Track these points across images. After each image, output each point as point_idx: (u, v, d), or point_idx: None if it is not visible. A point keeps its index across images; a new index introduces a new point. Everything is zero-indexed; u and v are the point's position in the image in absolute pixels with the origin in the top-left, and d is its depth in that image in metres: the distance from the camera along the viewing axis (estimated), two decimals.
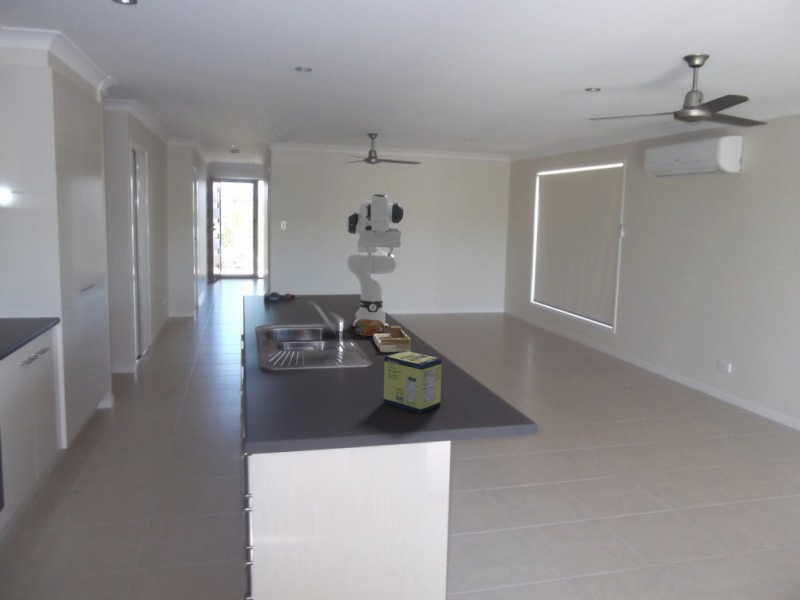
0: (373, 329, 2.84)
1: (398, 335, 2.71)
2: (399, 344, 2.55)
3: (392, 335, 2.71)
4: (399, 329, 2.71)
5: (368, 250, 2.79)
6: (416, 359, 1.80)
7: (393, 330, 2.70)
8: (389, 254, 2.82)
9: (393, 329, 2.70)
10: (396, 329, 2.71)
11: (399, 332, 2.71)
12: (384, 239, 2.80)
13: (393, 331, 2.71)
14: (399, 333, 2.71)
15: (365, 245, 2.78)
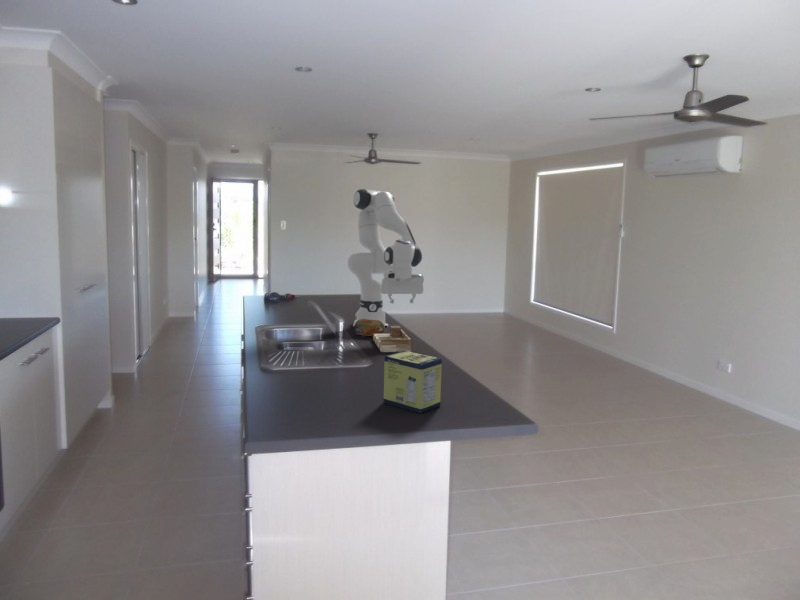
0: (373, 329, 2.84)
1: (398, 335, 2.71)
2: (399, 344, 2.55)
3: (392, 335, 2.71)
4: (399, 329, 2.71)
5: (390, 297, 2.76)
6: (416, 359, 1.80)
7: (393, 330, 2.70)
8: (411, 301, 2.79)
9: (393, 329, 2.70)
10: (396, 329, 2.71)
11: (399, 332, 2.71)
12: (407, 286, 2.77)
13: (393, 331, 2.71)
14: (399, 333, 2.71)
15: (388, 292, 2.75)
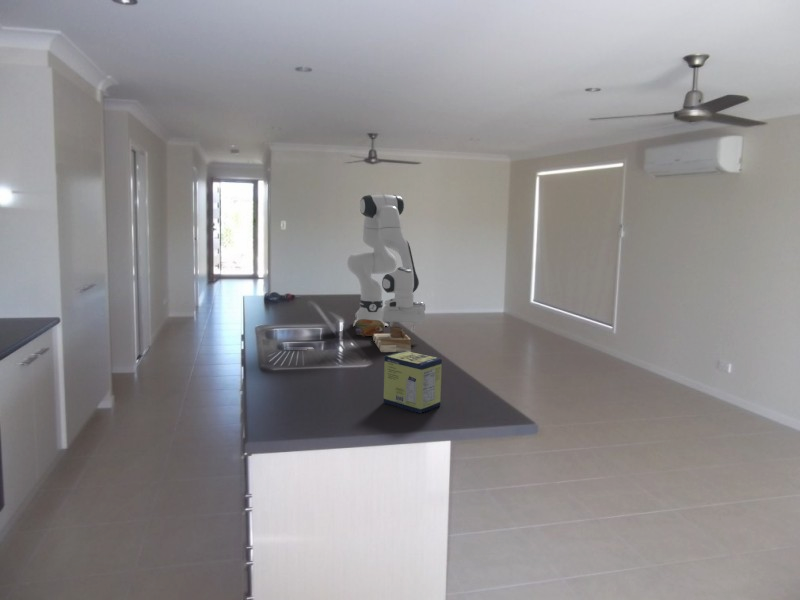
0: (373, 329, 2.84)
1: (399, 335, 2.70)
2: (399, 344, 2.55)
3: (393, 335, 2.70)
4: (400, 329, 2.70)
5: None
6: (416, 359, 1.80)
7: (394, 330, 2.70)
8: (413, 329, 2.76)
9: (394, 329, 2.69)
10: (397, 329, 2.70)
11: (400, 332, 2.70)
12: (408, 314, 2.73)
13: (394, 331, 2.70)
14: (400, 333, 2.70)
15: (389, 321, 2.72)
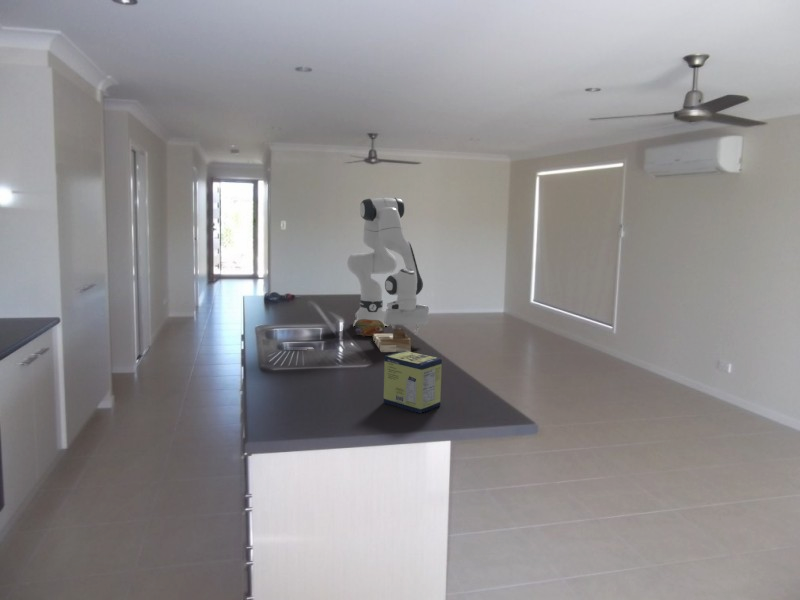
0: (373, 329, 2.84)
1: (402, 338, 2.64)
2: (399, 344, 2.55)
3: (396, 338, 2.64)
4: (403, 332, 2.64)
5: (394, 328, 2.67)
6: (416, 359, 1.80)
7: (397, 333, 2.63)
8: (416, 332, 2.69)
9: (397, 332, 2.63)
10: (400, 332, 2.64)
11: (403, 335, 2.64)
12: (411, 317, 2.67)
13: (397, 334, 2.63)
14: (403, 336, 2.64)
15: (391, 324, 2.66)
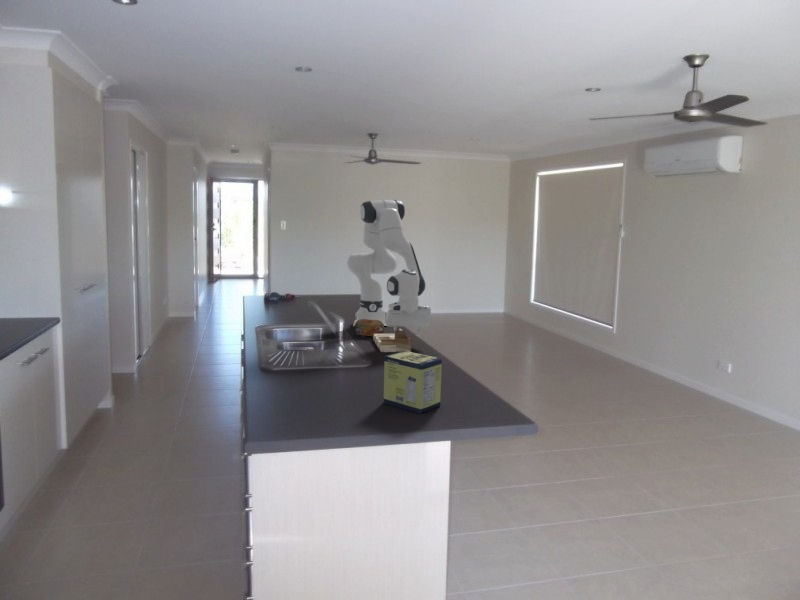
0: (373, 329, 2.84)
1: None
2: (399, 344, 2.55)
3: None
4: (405, 334, 2.60)
5: None
6: (416, 359, 1.80)
7: (398, 335, 2.59)
8: (418, 333, 2.66)
9: (398, 334, 2.59)
10: (402, 334, 2.60)
11: (405, 337, 2.60)
12: (413, 318, 2.63)
13: (398, 336, 2.59)
14: (405, 338, 2.60)
15: (393, 325, 2.62)
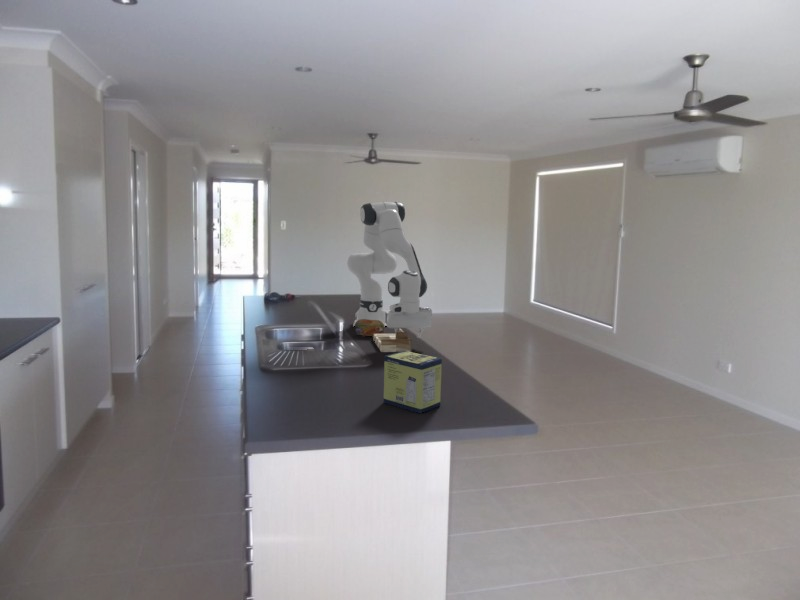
0: (373, 329, 2.84)
1: None
2: (399, 344, 2.55)
3: None
4: (406, 335, 2.58)
5: None
6: (416, 359, 1.80)
7: (399, 336, 2.57)
8: (419, 335, 2.63)
9: (399, 335, 2.57)
10: (403, 335, 2.57)
11: (406, 338, 2.58)
12: (414, 320, 2.61)
13: (399, 337, 2.57)
14: None
15: (394, 327, 2.60)
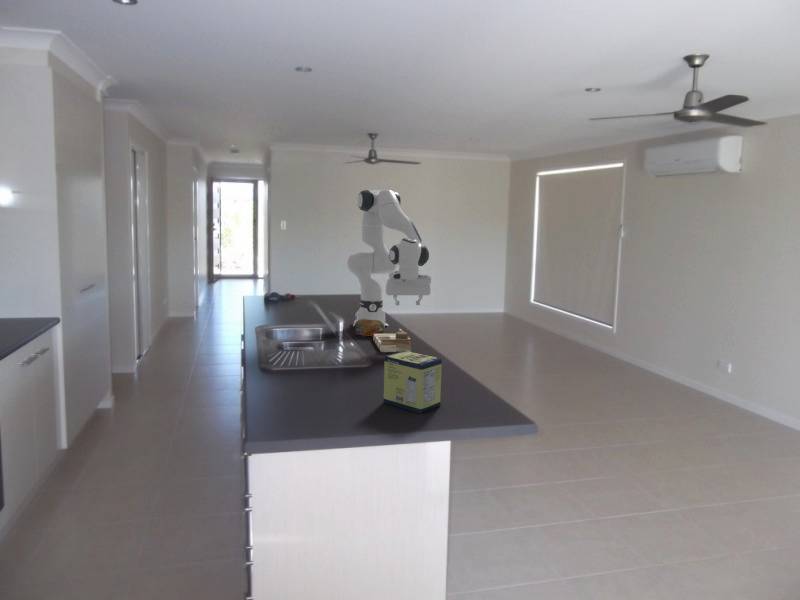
0: (373, 329, 2.84)
1: None
2: (399, 344, 2.55)
3: None
4: (406, 335, 2.58)
5: (396, 299, 2.62)
6: (416, 359, 1.80)
7: (399, 336, 2.57)
8: (418, 302, 2.65)
9: (399, 335, 2.57)
10: (403, 335, 2.57)
11: (406, 338, 2.58)
12: (413, 287, 2.62)
13: (399, 337, 2.57)
14: None
15: (393, 294, 2.61)
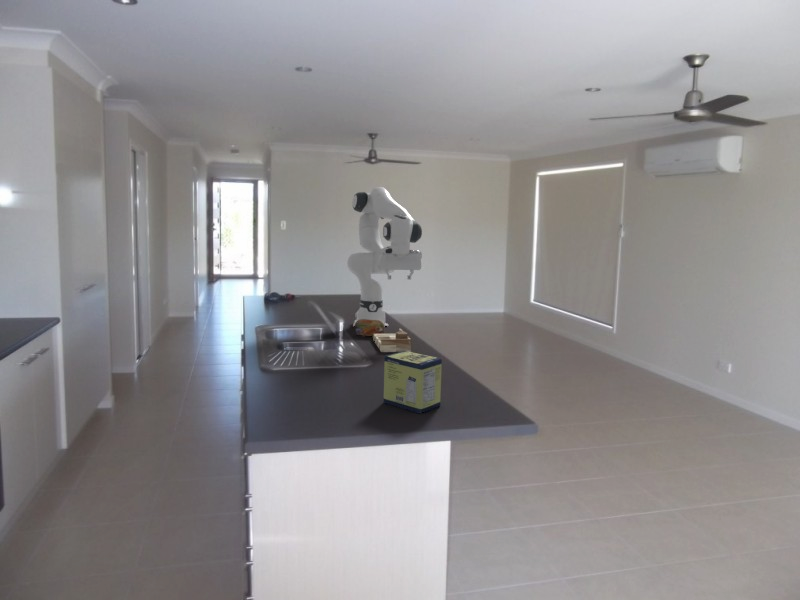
0: (373, 329, 2.84)
1: None
2: (399, 344, 2.55)
3: None
4: (406, 335, 2.58)
5: (388, 273, 2.72)
6: (416, 359, 1.80)
7: (399, 336, 2.57)
8: (409, 277, 2.74)
9: (399, 335, 2.57)
10: (403, 335, 2.57)
11: (406, 338, 2.58)
12: (404, 262, 2.72)
13: (399, 337, 2.57)
14: None
15: (385, 268, 2.70)
